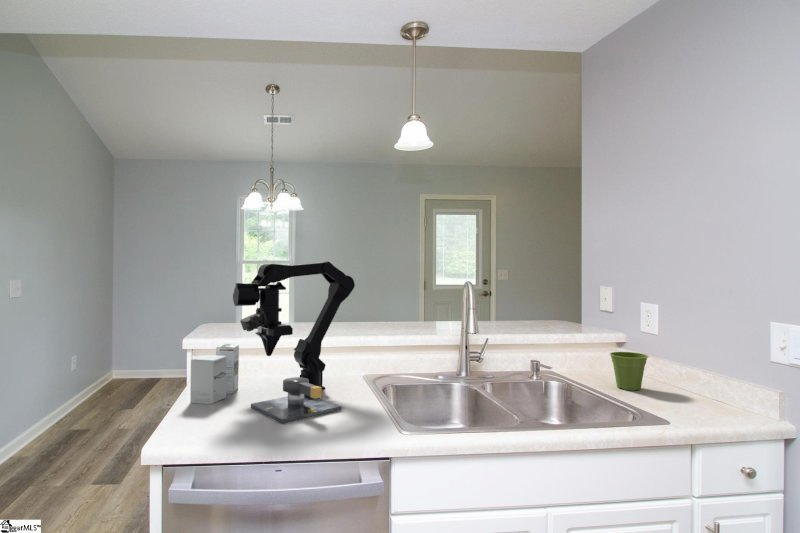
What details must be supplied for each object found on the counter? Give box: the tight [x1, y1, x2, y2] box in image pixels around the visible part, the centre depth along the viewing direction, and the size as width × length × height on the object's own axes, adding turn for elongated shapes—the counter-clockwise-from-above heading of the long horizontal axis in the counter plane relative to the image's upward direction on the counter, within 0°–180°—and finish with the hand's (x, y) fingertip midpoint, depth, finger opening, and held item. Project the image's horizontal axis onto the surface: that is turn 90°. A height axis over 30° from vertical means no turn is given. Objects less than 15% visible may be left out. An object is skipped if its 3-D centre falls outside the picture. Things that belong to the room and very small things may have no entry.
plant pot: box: [609, 351, 649, 392], centre depth 163 cm, size 12×12×11 cm
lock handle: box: [282, 376, 323, 399], centre depth 133 cm, size 15×7×3 cm, turn 42°
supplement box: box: [189, 354, 227, 405], centre depth 144 cm, size 7×7×13 cm
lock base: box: [250, 392, 342, 425], centre depth 136 cm, size 18×18×5 cm
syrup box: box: [215, 343, 240, 395], centre depth 153 cm, size 6×6×14 cm
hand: (268, 355), depth 150 cm, fingers closed
